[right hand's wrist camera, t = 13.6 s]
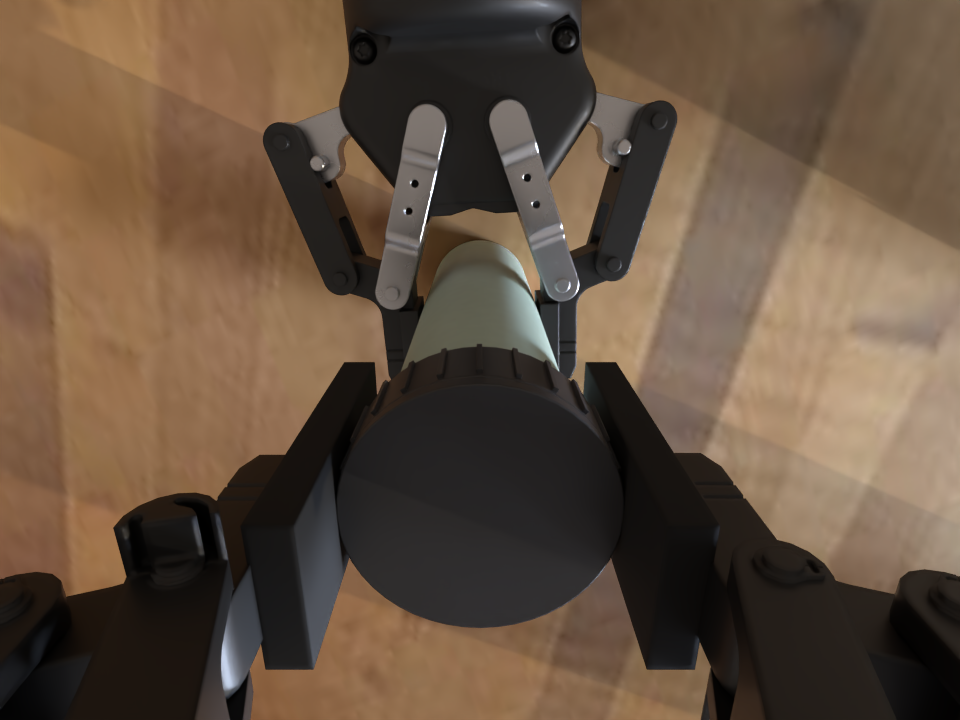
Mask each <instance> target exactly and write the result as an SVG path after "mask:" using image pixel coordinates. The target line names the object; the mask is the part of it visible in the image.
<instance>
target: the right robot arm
mask: <svg viewBox="0 0 960 720" xmlns="http://www.w3.org/2000/svg"><path fill="white" fill-rule="evenodd" d="M583 395H584V397H585V398H586V400H587V401H588V403H589V404H590V406H591V405H593V404H594V405H595V407H596V409H597V411H598V414H599V416H600V418H601V420H602V422H603V425H604V427H605V429H606V431H607V434H608V436H609V438H610V441H609V442H610V444H611V446H612V449H613V451H614V453H615V455H616V458H617V460H618V462H619V464H620V467H621V472H619V473H620V476H621V480H622V483H623V491H624V498H625V503H624V516H623V525H622V531H621V534H620V537H619V540H618V543H617V546H616V548H615V550H614V552H613V554H612V556H611V559H612V562H613V565H614V568H615V572H616V575H617V578H618V581H619V584H620V587H621V590H622V593H623V596H624V600H625V603H626V606H627V609H628V612H629V615H630V618H631V621H632V625H633V628H634V631H635V634H636V637H637V640H638V643H639V646H640V650H641V653H642V656H643V659H644V662H645V665H646V668H647V670H695V665H696V660H697V654H698V648H699V643H701V645H702V648H703V650H704V652H705V654H706V657H707V659H708V661H709V663H710V665H711V669H710V674H709V679H708V684H707V690H706V695H705V700H704V705H703V711H702V716H701V720H960V576H959V577H958V576H956V575H954V574H949V573H946V572H939V571H932V570H925V569H924V570H917V571H910V572H908V573H906V574H905V575H904V576H903V577H901V578H900V581H899V584H898V587H897V590H896V593H895V594H890V593H886V592H881V591H876V590H872V589H867V588H863V587H858V586H853V585H849V584H845V583H842V582H838V581H835V579H834V576H833V575H832V574H831V572H830V571H829V569H828V568H827V567H826V565H825V564H824V563H823V562H822V561H820V560H819V559H818V558H816V557H815V556H814V555H812V554H811V553H810V552H808V551H806V550H803V549H801V548H799V547H797V546H795V545H793V544H790V543H787V542H783V541H779V540H777V539H776V538H775V537H774V535H773V534H772V533H771V531H770V530H769V529H768V527H767V526H766V525H765V523H764V522H763V521H762V519H761V518H760V517H759V516H758V514H757V513H756V512H755V510H754V509H753V508H752V506H751V505H750V504H749V502H748V501H747V500H746V499H743V494H742V493H741V492H740V491H739V489H738V488H737V487H736V485H733V481H732V480H731V479H730V477H729V476H728V475H727V473H726V472H725V471H724V469H723V468H722V467H721V466H720V465H718V464H717V463H715V462H714V461H712V460H711V459H709V458H707V457H706V456H704V455H703V454H701V453H673V451H672V449H671V448H670V446H669V445H668V443H667V442H666V440H665V438H664V437H663V435H662V434H661V432H660V431H659V429H658V427H657V426H656V424H655V423H654V421H653V420H652V418H651V416H650V415H649V413H648V412H647V410H646V409H645V407H644V405H643V404H642V402H641V401H640V399H639V398H638V396H637V394H636V393H635V391H634V390H633V388H632V387H631V385H630V384H629V382H628V380H627V379H626V377H625V376H624V374H623V373H622V371H621V369H620V368H619V366H618V365H617V363H616V362H586V366H585V380H584V394H583ZM376 396H377V389H376V375H375V362H344V364H343V365H342V367H341V368H340V370H339V372H338V373H337V375H336V376H335V378H334V379H333V381H332V383H331V384H330V386H329V387H328V389H327V390H326V392H325V393H324V395H323V397H322V398H321V400H320V401H319V403H318V404H317V406H316V408H315V409H314V411H313V412H312V414H311V415H310V417H309V419H308V420H307V422H306V423H305V425H304V426H303V428H302V430H301V431H300V433H299V434H298V436H297V437H296V439H295V441H294V442H293V444H292V445H291V447H290V448H289V450H288V452H287V453H286V455H259V456H257V457H256V458H254V459H253V460H251V461H250V462H248V463H247V464H245V465H244V466H242V467H241V468H239V470H238V471H237V472H236V474H235V475H234V476H233V478H232V479H231V480H230V482H229V483H228V486H227V487H225V488H224V490H223V491H222V492H221V493H220V495H219V496H218V500H217V501H215V500H214V499H213V498H212V497H210V496H208V495H203V494H199V493H178V494H173V495H169V496H164V497H160V498H157V499H154V500H152V501H149V502H147V503H145V504H142V505H140V506H138V507H136V508H135V509H133V510H132V511H130V512H129V513H127V514H126V515H124V516H123V517H122V518H121V519H120V521H119V522H118V523H117V524H116V525H115V526H114V532H115V536H116V539H117V543H118V547H119V550H120V554H121V558H122V561H123V565H124V569H125V572H126V576H127V577H126V580H125V582H124V584H120V585H117V586H113V587H109V588H105V589H100V590H95V591H91V592H86V593H81V594H77V595H72V596H68V597H66V595H65V591H64V588H63V585H62V582H61V580H59V579H58V578H57V577H56V576H54V575H53V574H48V573H41V572H32V573H25V574H18V575H14V576H10V577H6V578H4V579H0V720H250V718H251V709H252V700H253V686H252V679H251V674H250V667H251V665H252V663H253V660H254V658H255V656H256V653H257V651H258V649H259V647H260V644H261V646H262V652H263V658H264V663H265V669H266V670H313V669H314V666H315V663H316V660H317V657H318V654H319V651H320V648H321V644H322V641H323V638H324V635H325V632H326V629H327V626H328V623H329V619H330V616H331V613H332V610H333V607H334V604H335V601H336V598H337V594H338V591H339V588H340V585H341V582H342V579H343V576H344V573H345V569H346V566H347V563H348V560H349V555H348V553H347V551H346V550H345V547H344V545H343V542H342V539H341V536H340V533H339V528H338V522H337V512H336V493H337V485H338V481H339V478H340V474H341V473H340V470H339V468H340V466H341V464H342V461H343V459H344V457H345V455H346V452H347V450H348V448H349V446H350V443H351V442H350V439H351V436H352V434H353V432H354V430H355V427H356V425H357V423H358V421H359V419H360V416H361V414H362V412H363V410H364V408H365V406H366V405H367V406H369V407H370V405H371V404H372V402H373V400H374V399H375V397H376Z"/></svg>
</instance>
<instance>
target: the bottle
mask: <svg viewBox="0 0 960 720" xmlns="http://www.w3.org/2000/svg"><path fill="white" fill-rule="evenodd" d="M477 344H482V347H497V348H503V349H508V350H512V348H517V349H518V352H520V353H523V354H526V355H530V356H532V357H534V358H536V359H538V360H541V361H543V362H545V360H548V361H549V362H550V363H551V366H552V367H553V368H555V369H556V370H558V371H559V369H558V366H557V364H556V361H555V358H554V355H553V352H552V350H551V347H550V344H549V341H548V338H547V336H546V333H545V330H544V327H543V324H542V322H541V319H540V316H539V313H538V310H537V308H536V305H535V302H534V299H533V296H532V294H531V291H530V288H529V285H528V282H527V280H526V277H525V274H524V271H523V269H522V266H521V264H520V263H519V261H518V259H517V258H516V257H515V256H514V255H513V254H512V253H511V252H510V251H509V250H508V249H506V248H505V247H503V246H501V245H499V244H497V243H494V242H491V241H485V240H476V241H470V242H466V243H463V244H461V245H459V246H457V247H455V248H454V249H452V250H451V251H450V252H449V253H448V254H447V255H446V256H445V257H444V258H443V260H442V261H441V263H440V265H439V267H438V269H437V272H436V275H435V277H434V280H433V283H432V286H431V289H430V291H429V294H428V297H427V300H426V303H425V305H424V308H423V311H422V314H421V317H420V319H419V322H418V325H417V328H416V331H415V333H414V336H413V339H412V342H411V345H410V347H409V350H408V353H407V356H406V359H405V361H404V364H403V367H402V370H401V371H403V370H404V369H406V368H407V367H408V364H409V362H411V361H414V362H415V363H416V362H418V361H420V360H422V359H424V358H426V357H428V356H431V355H434V354H437V353H440V352H441V349H443V348H447V350H452V349H457V348H463V347H477Z"/></svg>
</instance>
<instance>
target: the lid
mask: <svg viewBox="0 0 960 720" xmlns="http://www.w3.org/2000/svg"><path fill="white" fill-rule="evenodd" d="M609 441H610V438H609V436H608V434H607V431H606V429H605V427H604V425H603V422H602V420H601V418H600V416H599V414H598V411H597V409H596V407H595V405H594V404H593V405H591V406H590V404H589V403H588V401H587V400H586V398H585V397H584V395H583V394H582V393H581V391H580V389H579V386H578V384H577V382H576V381H575V380H574V379H573V380H572V381H570V380H569V379H568V378H566V377H565V376H564V375H563V374H562V373H561V372H559V371H558V370H556V369H555V368H553V367H552V366H551V363H550V362H549V361H548V360H545V362H543V361H541V360H538V359H536V358H534V357H532V356H530V355H526V354H523V353H520V352H518V349H517V348H512V350H508V349H503V348H497V347H482V344H477V347H463V348H457V349H452V350H447V348H443V349H441V352H440V353H437V354H434V355H431V356H428V357H426V358H424V359H422V360H420V361H418V362H416V363H415V362H414V361H411V362H409V364H408V367H407V368H406V369H404V370H403V371H401V372H400V373H399V374H397V375H396V376H395V377H394V378H393V379H392V380H390V381H389V382H388V381H387V380H385V381H384V382H383V384H382V386H381V388H380V391H379V393H378V394H377V396H376V397H375V399H374V400H373V402H372V404H371V405H370V407H369V406H367V405H366V406H365V408H364V410H363V412H362V414H361V416H360V419H359V421H358V423H357V425H356V427H355V430H354V432H353V434H352V436H351V439H350V442H351V443H350V446H349V448H348V450H347V452H346V455H345V457H344V459H343V461H342V464H341V466H340V468H339V470H340V473H341V474H340V478H339V481H338V485H337V493H336V512H337V522H338V528H339V533H340V536H341V539H342V542H343V545H344V547H345V550H346V551H347V553H348V555H349V557H350V559H351V561H352V563H353V564H354V566H355V567H356V568H357V570H358V571H359V573H360V574H361V575H362V576H363V577H364V579H365V580H366V581H367V582H368V583H369V584H370V585H371V586H372V587H373V588H374V589H375V590H377V591H378V592H379V593H380V594H381V595H383V596H384V597H385V598H386V599H388V600H389V601H391V602H393V603H394V604H396V605H397V606H399V607H401V608H403V609H405V610H407V611H408V612H410V613H412V614H415V615H417V616H420V617H423V618H425V619H428V620H431V621H435V622H439V623H443V624H447V625H453V626H460V627H474V628H487V627H501V626H507V625H513V624H518V623H522V622H525V621H529V620H532V619H535V618H538V617H540V616H543V615H546V614H548V613H550V612H552V611H554V610H556V609H558V608H560V607H562V606H563V605H565V604H566V603H568V602H569V601H571V600H572V599H574V598H575V597H577V596H578V595H579V594H580V593H581V592H583V591H584V590H585V589H586V588H587V587H589V585H590V584H591V583H592V582H593V581H594V580H595V579H596V578H597V577H598V576H599V575H600V573H601V572H602V570H603V569H604V567H605V566H606V565H607V563H608V562H609V560H610V558H611V556H612V554H613V552H614V550H615V548H616V546H617V543H618V540H619V537H620V534H621V531H622V525H623V516H624V503H625V498H624V491H623V483H622V480H621V476H620V473H619V472H621V467H620V464H619V462H618V460H617V458H616V455H615V453H614V451H613V449H612V446H611V444H610V442H609Z"/></svg>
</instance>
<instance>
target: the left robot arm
mask: <svg viewBox="0 0 960 720" xmlns="http://www.w3.org/2000/svg"><path fill="white" fill-rule="evenodd" d="M343 7H344V16H345V25H346V33H347V42H348V51H349V68H348V74H347V78H346V82H345V85H344V87H343V90H342V92H341V95H340V101H339V107H336V108H334V109H331V110H328V111H326V112H323V113H321V114H318V115H315V116H313V117H310V118H307V119H305V120H302V121H300V122H297V123H289V122H284V123H282V122H277V123H273V124H271V125H270V126H269V127H268V128H267V129H266V130H265V132H264V136H263V144H264V147H265V150H266V152H267V154H268V157H269V159H270V161H271V163H272V166H273V168H274V170H275V172H276V175H277V177H278V179H279V182H280V184H281V186H282V188H283V191H284V193H285V195H286V197H287V200H288V202H289V204H290V206H291V209H292V211H293V213H294V215H295V218H296V220H297V222H298V225H299V227H300V229H301V231H302V234H303V236H304V238H305V240H306V243H307V245H308V247H309V249H310V252H311V254H312V256H313V259H314V261H315V263H316V265H317V268H318V270H319V272H320V274H321V277H322V279H323V281H324V283H325V285H326V287H327V288H328V290H330V291H331V292H332V293H334V294H337V295H347V294H349V293H350V294H354V295H357V296H360V297H364V298H367V299H369V300H371V301H373V302H374V303H375V304H376V305H377V306H378V307H379V309H380V311H381V313H382V318H383V327H384V336H385V345H386V354H387V360H388V362H387V363H388V371H389V376H390V378H391V380H392V379H393V378H394V377H395V376H396V375H397V374H399V373H400V372H401V370H402V367H403V364H404V361H405V359H406V356H407V353H408V350H409V347H410V345H411V342H412V339H413V336H414V333H415V331H416V328H417V325H418V322H419V319H420V317H421V314H422V311H423V308H424V298H423V296H418V295H417V284H416V280H417V275H418V271H419V267H420V263H421V258H422V254H423V250H424V246H425V242H426V238H427V235H428V231H429V227H430V223H431V219H432V216H449V215H453V214H456V213H459V212H462V211H465V210H468V209H471V208H475V209H480V210H484V211H489V212H493V213H508V212H517V214H518V217H519V220H520V223H521V226H522V228H523V231H524V234H525V236H526V239H527V242H528V245H529V248H530V251H531V253H532V256H533V259H534V262H535V265H536V268H537V271H538V274H539V277H540V290H535V305H536V308H537V310H538V313H539V316H540V319H541V322H542V324H543V327H544V330H545V333H546V336H547V338H548V341H549V344H550V347H551V350H552V352H553V355H554V358H555V361H556V364H557V366H558V369H559V372H561V373H562V374H563V375H564V376H565V377H566V378H571V377H572V374H573V372H574V370H575V368H576V332H577V302H578V299H579V297H580V295H581V294H582V293H583V292H584V291H585V290H586V289H588V288H590V287H592V286H594V285H597V284H599V283H602V282H604V281H606V280H607V281H617V280H620V279H621V278H623V277H624V276H625V275H626V274H627V273H628V271H629V269H630V266H631V263H632V259H633V256H634V253H635V250H636V247H637V244H638V241H639V238H640V235H641V232H642V229H643V226H644V223H645V220H646V216H647V213H648V210H649V207H650V204H651V201H652V198H653V195H654V192H655V189H656V186H657V183H658V180H659V176H660V173H661V170H662V167H663V164H664V161H665V158H666V155H667V152H668V149H669V146H670V143H671V140H672V136H673V133H674V130H675V127H676V124H677V113H676V111H675V109H674V107H673V106H672V105H671V104H670V103H668V102H666V101H655V102H651V103H648V104H640V103H636V102H632V101H628V100H624V99H621V98H617V97H613V96H609V95H605V94H601V93H597V92H596V86H595V83H594V80H593V78H592V76H591V74H590V72H589V70H588V68H587V66H586V63H585V60H584V57H583V52H582V45H581V0H343ZM587 124H589V125H591V126H592V127H593V128H594V130H595V131H596V134H597V138H598V143H597V154H598V157H599V158H600V160H601V161H602V162H603V163H605V164H607V165H610V166H609V169H608V173H607V176H606V179H605V183H604V186H603V190H602V193H601V196H600V200H599V203H598V207H597V210H596V213H595V217H594V220H593V224H592V227H591V230H590V234H589V237H588V241H587V244H586V245H584V246H582V247H580V248H577V249H575V250H572V251H569V248H568V245H567V242H566V239H565V236H564V230H563V226H562V222H561V219H560V216H559V213H558V210H557V207H556V204H555V201H554V197H553V194H552V191H551V188H550V185H549V181H550V179H551V178H552V176H553V175H554V173H555V172H556V170H557V169H558V167H559V166H560V164H561V163H562V161H563V160H564V158H565V157H566V155H567V153H568V152H569V150H570V149H571V147H572V146H573V144H574V143H575V141H576V140H577V138H578V137H579V135H580V134H581V132H582V131H583V129H584V128H585V126H586V125H587ZM351 137H352V138H353V139H354V140H355V141H356V142H357V144H358V145H359V146H360V147H361V149H362V150H363V151H364V152H365V153H366V155H367V156H368V157H369V158H370V159H371V161H372V162H373V163H374V164H375V166H376V167H377V168H378V169H379V170H380V172H381V173H382V174H383V175H384V177H385V178H386V179H387V180H388V181H389V183H390V184H391V185H392V186H393V187H394V189H395V190H394V195H393V200H392V204H391V209H390V214H389V219H388V224H387V228H386V234H385V247H384V252H383V256H382V260H379V259H375V258H372V257H369V256H366V253H365V251H364V248H363V246H362V243H361V241H360V239H359V236H358V234H357V231H356V229H355V226H354V224H353V221H352V219H351V216H350V214H349V212H348V209H347V207H346V204H345V202H344V199H343V197H342V194H341V192H340V190H339V187H338V185H337V182H336V180H335V179H338V178H339V177H341V175H342V174H343V173H344V171H345V167H346V161H345V157H344V147H345V144H346V142H347V141H348V139H349V138H351Z"/></svg>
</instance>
